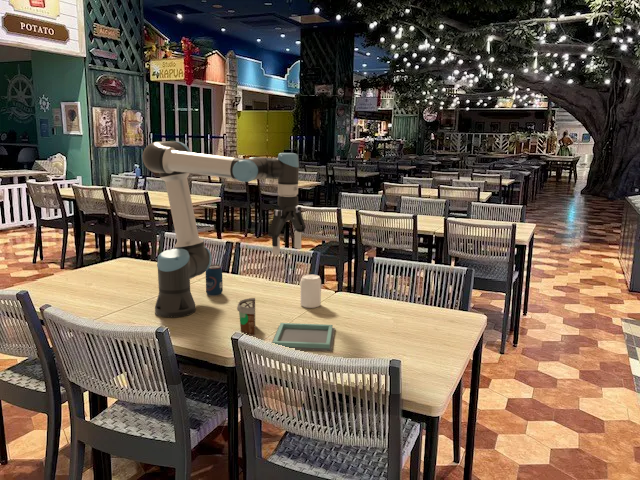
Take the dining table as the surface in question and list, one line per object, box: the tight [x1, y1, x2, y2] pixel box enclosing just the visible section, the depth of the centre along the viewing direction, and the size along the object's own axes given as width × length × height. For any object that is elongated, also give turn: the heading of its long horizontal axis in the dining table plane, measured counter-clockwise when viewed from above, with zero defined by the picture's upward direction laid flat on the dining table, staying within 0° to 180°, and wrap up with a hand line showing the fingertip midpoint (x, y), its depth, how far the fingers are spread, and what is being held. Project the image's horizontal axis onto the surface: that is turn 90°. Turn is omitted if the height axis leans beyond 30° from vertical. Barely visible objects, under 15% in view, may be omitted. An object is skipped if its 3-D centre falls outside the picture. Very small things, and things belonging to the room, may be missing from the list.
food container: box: [236, 297, 256, 336], centre depth 199 cm, size 12×6×10 cm, turn 5°
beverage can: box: [300, 273, 322, 309], centre depth 226 cm, size 8×8×12 cm
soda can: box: [205, 264, 224, 297], centre depth 240 cm, size 7×7×12 cm
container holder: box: [271, 322, 336, 352], centre depth 192 cm, size 20×20×2 cm
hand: (287, 251), depth 214 cm, fingers open, 13 cm apart
